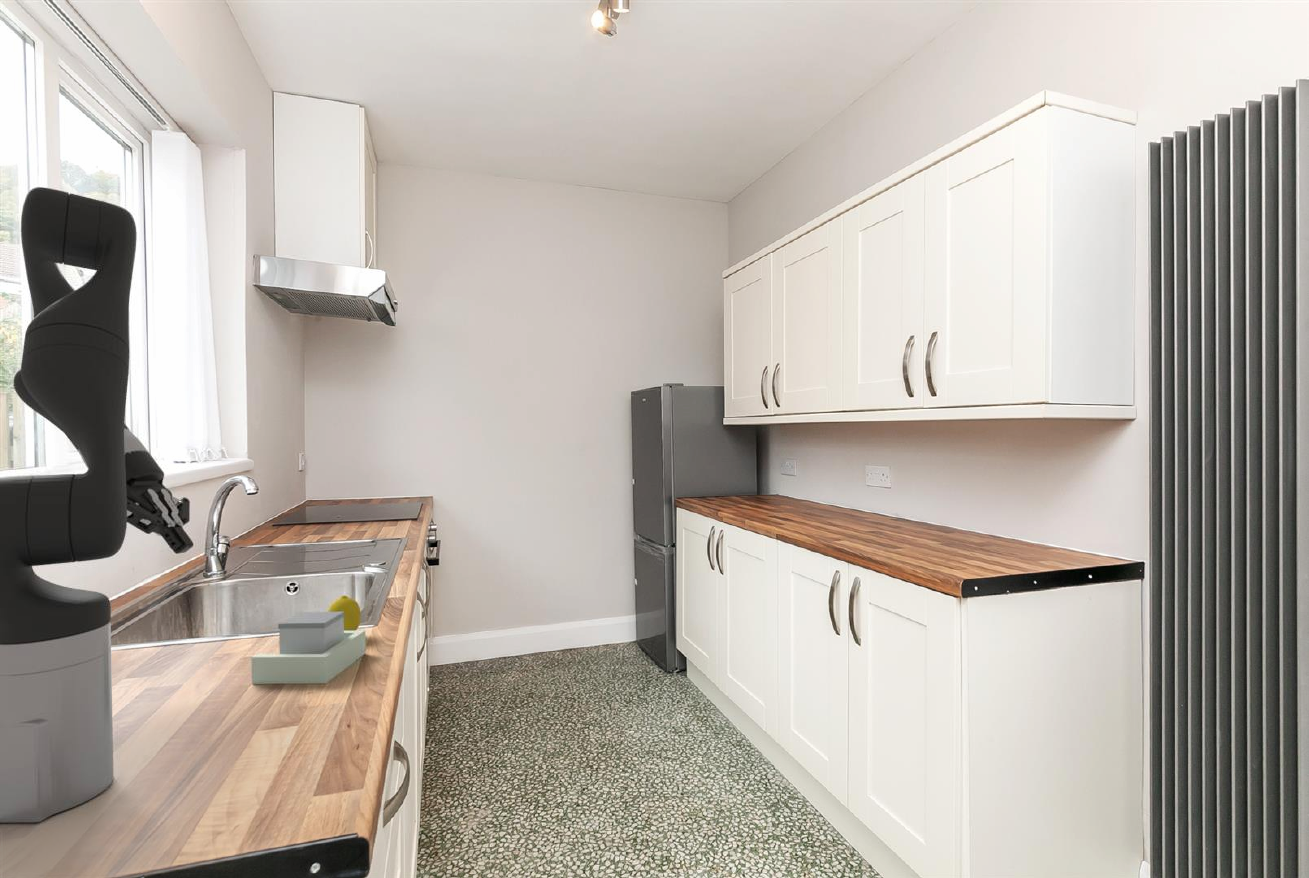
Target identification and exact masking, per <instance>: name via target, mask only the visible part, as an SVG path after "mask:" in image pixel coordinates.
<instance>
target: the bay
mask: <svg viewBox="0 0 1309 878" xmlns="http://www.w3.org/2000/svg"><path fill="white" fill-rule="evenodd" d="M365 653H366V630H356V631H344V640H343V641H341V642H340V643H338V644H337V645H335V646H334V647H332V648H331V649H329V650H328V651H326V652H324V653H323V654H280V653H279V654H278V653H274V654H270V653H266V654H265V653H263V654H260V653H259V654H255V655H253V656H251V684H252V685H259V684H260V685H261V684H262V685H266V684H267V685H270V684H271V685H272V684H275V685H279V684H280V685H281V684H283V685H284V684H286V685H289V684H291V685H292V684H295V685H296V684H297V685H298V684H328V683H329V682H330V681H332V680H333V679H334V678H335V677H337V676H338V675H340V674H341V673H342V672H344V671H345V670H346V669H348V668H349V667H350V666H351V665H353V664H355V663H356V662H357V661H358V660H359V658H360V657H361V656H362V655H364V654H365ZM365 655H366V654H365ZM362 657H363V656H362ZM362 657H361V658H362ZM361 658H360V659H361ZM357 659H358V660H357ZM356 660H357V661H356Z"/></svg>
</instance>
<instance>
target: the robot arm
mask: <svg viewBox="0 0 1309 878" xmlns="http://www.w3.org/2000/svg"><path fill="white" fill-rule="evenodd" d="M137 237H138V233H137V225H136V222H135V219H134V217H133V215H132V214H131V212H130V211H129V210H128V209H126V208H124V207H122V206H120V205H117V204H114V203H112V202H108V201H104V200H99V199H95V198H91V197H87V196H83V195H78V194H75V193H69V192H67V191H64V190H59V189H56V188H55V189H54V188H51V187H50V188H49V187H42V186H37V187H36V186H35V187H33V188H32V189H30V190H29V191H28V192H27V194H26V196H25V199H24V201H23V204H22V211H21V217H20V238H21V247H22V248H21V249H22V254H23V255H22V256H23V261H24V267H25V273H26V279H27V285H28V289H29V295H30V298H31V304H32V310H33V311H32V312H33V319H32V320H31V321H30V323H29V324H28V326H27V327H26V330H25V334H24V340H23V350H22V356H21V357H22V358H21V363H20V369H19V370H18V371H17V372H16V373H15V375H14V377H13V387H14V390H15V392H16V394H17V396H18V397H19V398H20V400H21V401H22V402H23V403H24V404H25V405H26V406H27V407H29V408H30V409H32V410H33V411H35V412H36V413H37V414H39V415H40V416H42V417H43V418H45V419H46V420H47V421H48V422H50V423H51V424H52V425H54V427H57V428H58V429H59V430H60V431H62V433H63V434H65V436H66V437H67V439H68V440H69V441H70V442H71V444H72V445H73V447H74V448H75V449H76V451H77V452H78V454H79V456H80V457H81V459H82V461H83V463H84V465H85V466H86V468H87V470H86V471H85V472H84V473H76V474H75V473H66V474H42V475H41V474H40V475H39V474H36V475H31V474H30V475H15V476H2V477H0V823H40V822H42V821H44V820H45V819H47V818H49V817H51V816H52V815H55V814H58V813H61V812H63V811H66V810H69V809H72V808H74V807H77V806H78V805H81V804H84V803H85V802H87V801H89V800H91V799H93V798H95V797H96V796H97V795H100V794H101V793H103V792H104V791H105V790H106V789H108V787H110V786H111V784H112V783H113V782H114V741H113V740H114V736H113V735H114V734H113V733H114V732H113V730H114V729H113V690H112V689H113V686H112V683H113V682H112V680H113V679H112V678H113V677H112V629H111V628H112V627H111V625H112V622H111V621H112V615H111V614H112V610H111V609H112V605H111V601H110V598H109V597H108V596H107V595H106V594H104V593H102V592H98V591H92V590H86V589H79V588H73V587H68V586H64V585H60V584H57V583H53V582H51V581H49V580H46V579H44V578H42V577H40V576H39V575H37V574H36V572H35V571H34V569H33V567H35V566H36V567H38V566H48V565H59V564H69V563H75V562H78V563H79V562H87V561H88V562H89V561H95V560H96V561H97V560H102V559H103V560H104V559H108V558H110V557H113V556H115V555H116V554H118V552H119V551H120V550H121V548H122V546H123V544H124V541H125V538H126V534H127V533H126V532H127V528H128V527H127V523H128V524H130V526H133V527H135V528H136V529H138V530H140V531H142V532H143V533H145V534H148V535H151V534H152V533H155V534H156V536H158V537H161V538H163V540H164V541H165V542H166V544H167V545H168V546H169V548H170V549H171V550H172V551H173V552H174V553H175V554H178V555H179V554H183V553H187V552H188V551H189V550H190V549H192V548H193V547H194V542H193V540H192V539H191V538H190V536H189V535H188V534H187V532H186V531H185V529H184V528H183V527H184V526H185V525H187V524H188V523H189V522H190V521H191V520H190V519H191V518H190V516H191V515H190V512H191V511H190V509H191V507H190V505H191V504H190V503H191V502H190V500H189V499H188V497H182V498H180V499H179V498H177V497H174V496H173V494H172V492H171V490H170V489H169V488H167V487H166V486H165V485H164V484H163V482H164V478H165V472H164V471H163V470H162V468H161V467H160V466H159V464H158V463H157V462H156V460H155V459H154V457H153V456H152V455H151V453H150V451H148V449H147V448H146V447H145V445H144V444H143V442H142V441H141V440H140V439H139V438H138V437H137V436H136V435H135V434H134V433H133V432H132V431H131V429H130V428H129V427H128V425H126V423H125V419H126V405H127V395H128V383H129V373H130V324H129V323H130V319H129V318H130V295H131V288H132V282H133V281H132V280H133V274H134V273H133V272H134V267H135V259H136V250H137V240H138V239H137ZM59 264H60V265H62V264H63V265H66V266H71V267H76V268H82V269H86V270H87V269H88V270H92V271H93V270H94V271H96V272H95V273H94V274H93V276H92V277H91V278H89V279H88V281H87V282H85V283H84V284H83V285H81V286H79V287H78V288H77V289H75V287H73V285H72V284H71V283H70V282H69V281H68V279H67V278H66V277H65V275H64V274H63V272H62V271H61V269H60V267H59Z"/></svg>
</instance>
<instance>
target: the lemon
mask: <svg viewBox="0 0 1309 878" xmlns="http://www.w3.org/2000/svg"><path fill="white" fill-rule="evenodd" d="M327 612H344V631H358V628H359V627H360V624H361V619H362V613H361V608H360V605H359V603H358V602H357V600H355V599H354V598H352V597H349V596H347V595H341V596H340V597H339V598H337V599H336V600H334V601H333V602H332V603H331V604H330V606H329V609H328V610H327Z"/></svg>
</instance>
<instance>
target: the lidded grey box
mask: <svg viewBox="0 0 1309 878" xmlns="http://www.w3.org/2000/svg"><path fill="white" fill-rule="evenodd" d="M277 629H278V630H279V631H278V633H279V634H278V636H279V637H278V638H279V639H278V640H279V641H278V643H279V654H323V653H324V652H326V651H328V650H329V649H331V648H332V647H334V646H335V645H337V644H338V643H340V642H341V641H343V640H344V612H328V611H300V612H298V613H296V614H294V615H292V616H291V617H287V618H286V619H285V620H282V621H280V622H279V623H277Z"/></svg>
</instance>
